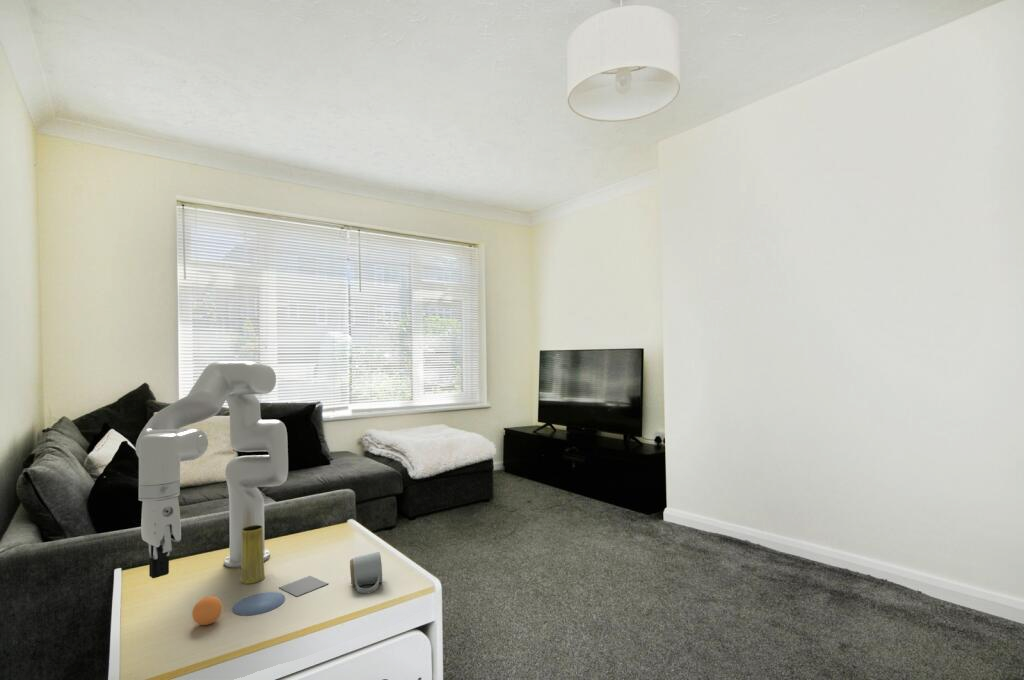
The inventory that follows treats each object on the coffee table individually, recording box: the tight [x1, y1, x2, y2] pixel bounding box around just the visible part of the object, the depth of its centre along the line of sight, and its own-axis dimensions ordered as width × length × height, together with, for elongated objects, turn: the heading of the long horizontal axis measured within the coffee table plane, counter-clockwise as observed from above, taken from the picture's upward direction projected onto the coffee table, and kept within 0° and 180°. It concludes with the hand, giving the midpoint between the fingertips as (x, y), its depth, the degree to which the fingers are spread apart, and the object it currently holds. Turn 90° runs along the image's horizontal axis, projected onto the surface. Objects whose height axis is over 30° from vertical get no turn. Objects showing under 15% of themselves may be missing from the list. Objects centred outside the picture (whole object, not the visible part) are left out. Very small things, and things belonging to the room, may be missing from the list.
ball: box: [191, 595, 223, 626], centre depth 121 cm, size 6×6×6 cm
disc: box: [231, 591, 286, 617], centre depth 130 cm, size 12×12×1 cm
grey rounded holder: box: [349, 551, 383, 594], centre depth 139 cm, size 11×8×8 cm
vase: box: [239, 525, 266, 585], centre depth 145 cm, size 6×6×14 cm
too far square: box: [278, 575, 329, 598], centre depth 140 cm, size 9×9×1 cm
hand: (159, 575), depth 113 cm, fingers closed
